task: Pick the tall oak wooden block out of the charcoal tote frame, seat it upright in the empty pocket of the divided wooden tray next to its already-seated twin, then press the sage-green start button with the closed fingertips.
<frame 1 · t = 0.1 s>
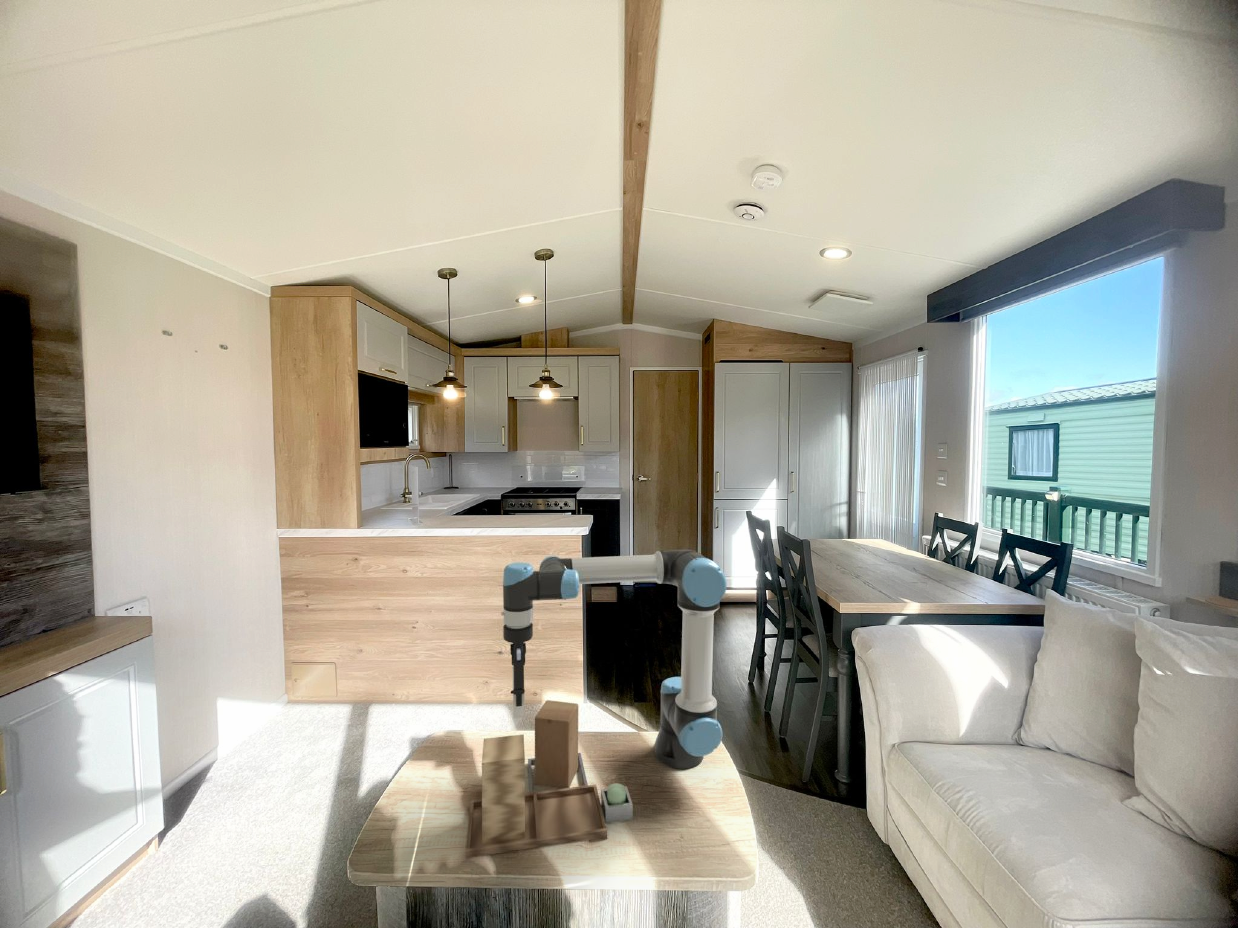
hand: (518, 702, 137), 28 cm above the table, fingers open, 13 cm apart
divided wooden tray: (536, 822, 132), on the table
button housing: (616, 811, 136), on the table
tote frame: (556, 777, 149), on the table
seated billet: (503, 825, 130), point 1 cm above the table, touching divided wooden tray
wooden block: (556, 778, 149), resting in tote frame
start button: (616, 795, 136), point 4 cm above the table, slide at 0.0 cm
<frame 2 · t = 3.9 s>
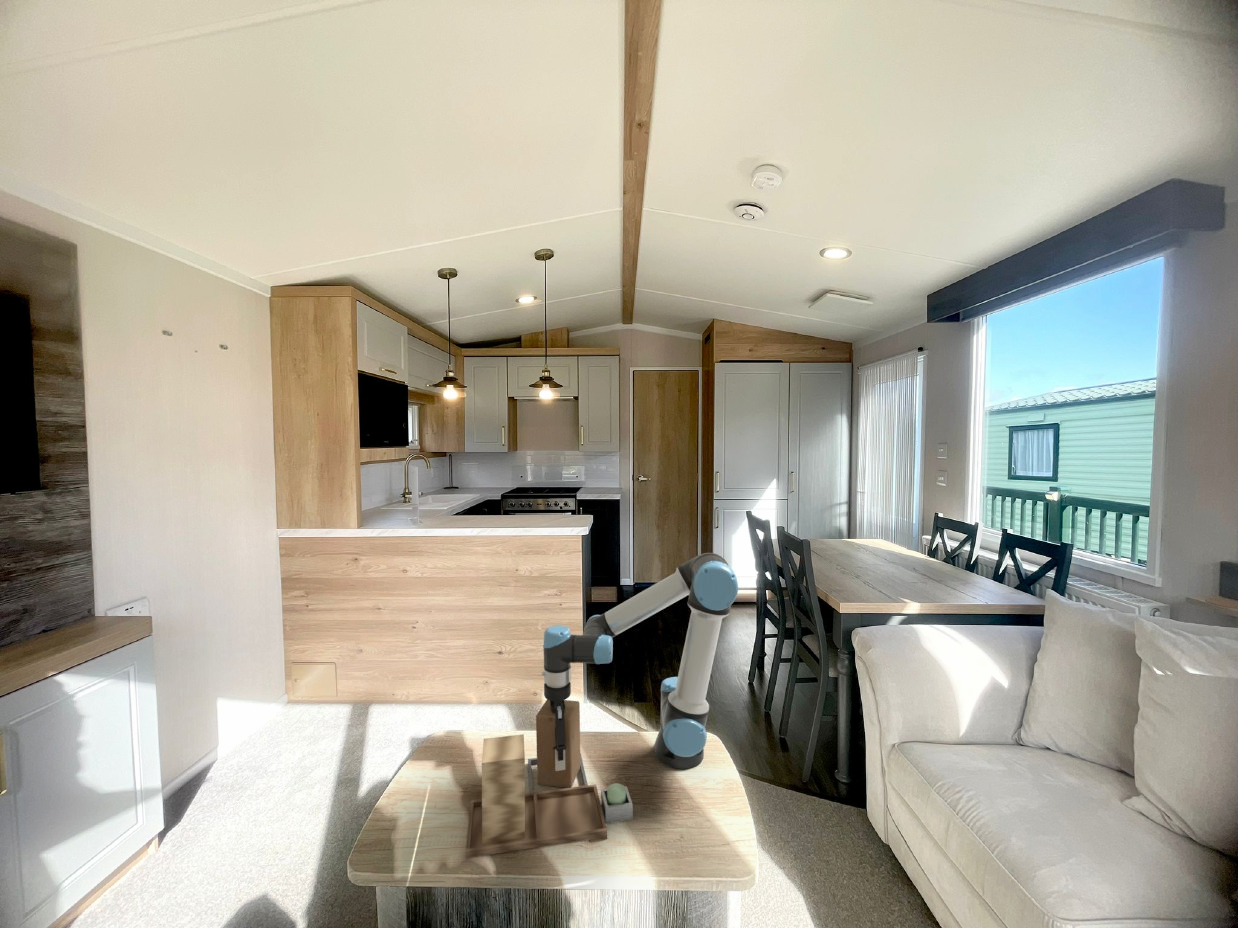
hand: (558, 755, 149), 7 cm above the table, fingers open, 12 cm apart
wooden block: (559, 776, 149), resting in tote frame, touching gripper, hand
everything else where it was.
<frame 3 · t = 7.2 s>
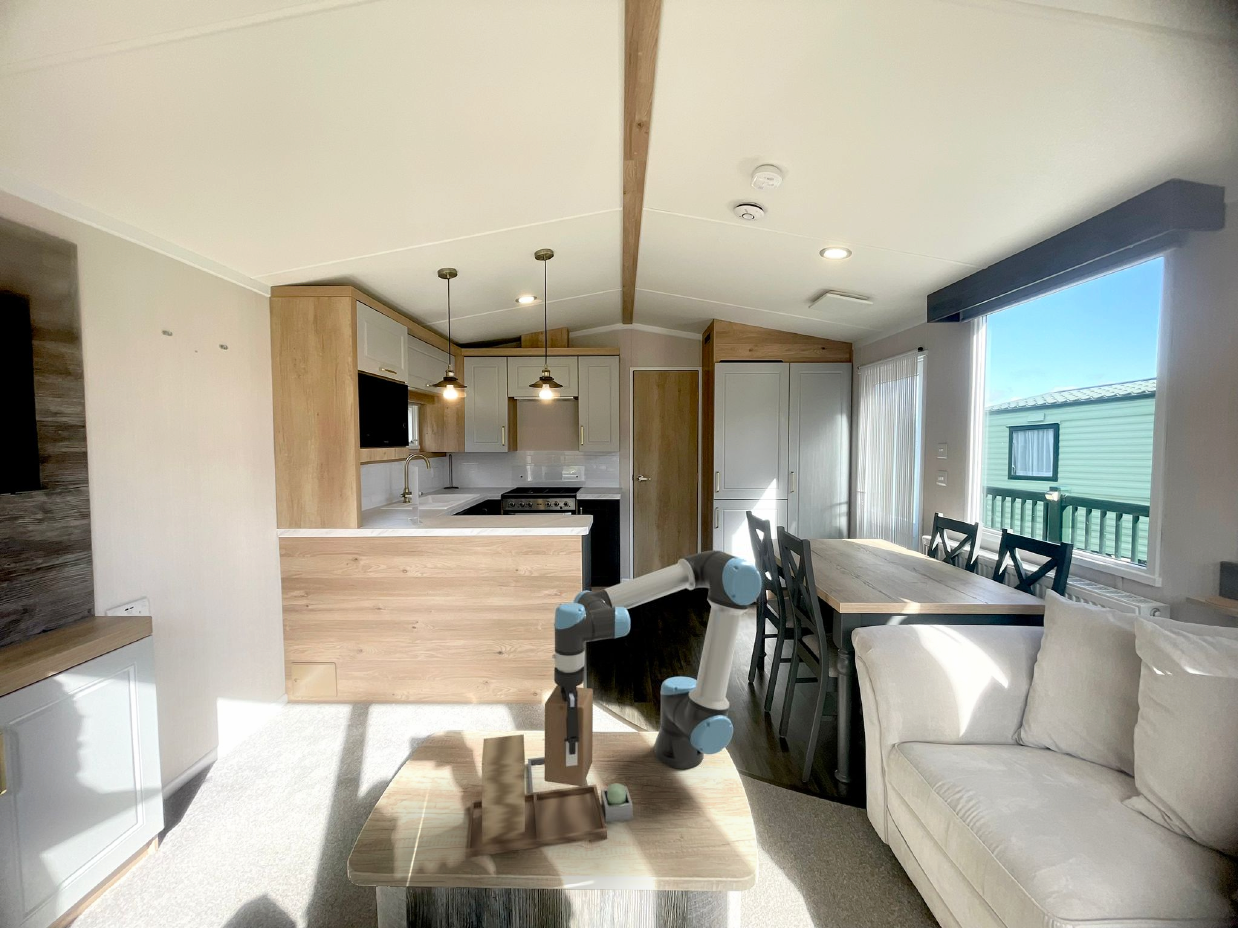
hand: (568, 748, 133), 18 cm above the table
wooden block: (569, 772, 133), point 12 cm above the table, touching gripper, hand
everything else where it was.
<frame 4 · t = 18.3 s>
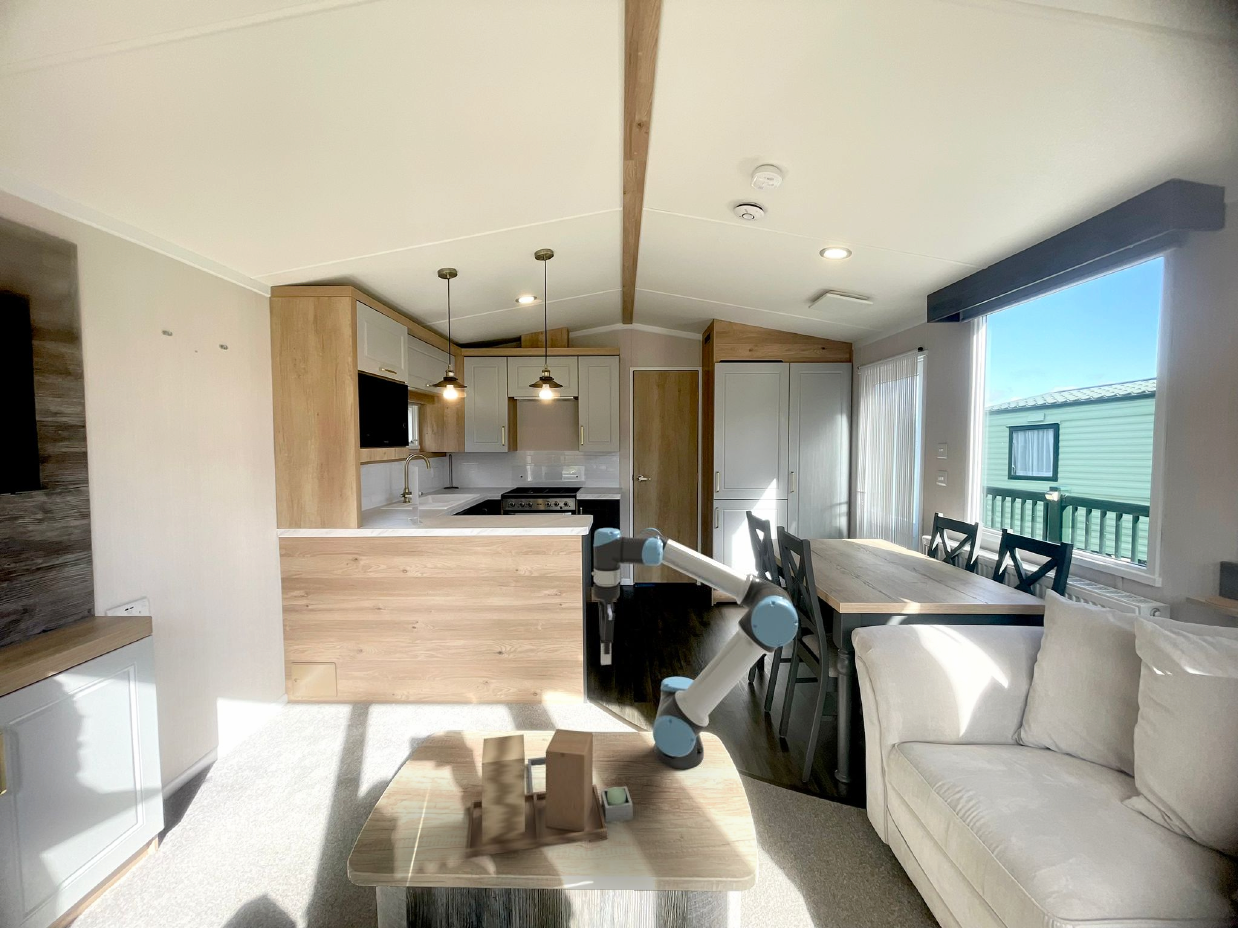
hand: (605, 663, 150), 32 cm above the table, fingers closed
wooden block: (569, 816, 134), resting on divided wooden tray
start button: (616, 799, 136), point 3 cm above the table, slide at 1.0 cm
everything else where it was.
at the end: wooden block inside the target area on the divided wooden tray (0.3 cm from its centre), point 0.4 cm above the divided wooden tray's base; wooden block tilted 0°; start button slide at 1.0 cm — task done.
